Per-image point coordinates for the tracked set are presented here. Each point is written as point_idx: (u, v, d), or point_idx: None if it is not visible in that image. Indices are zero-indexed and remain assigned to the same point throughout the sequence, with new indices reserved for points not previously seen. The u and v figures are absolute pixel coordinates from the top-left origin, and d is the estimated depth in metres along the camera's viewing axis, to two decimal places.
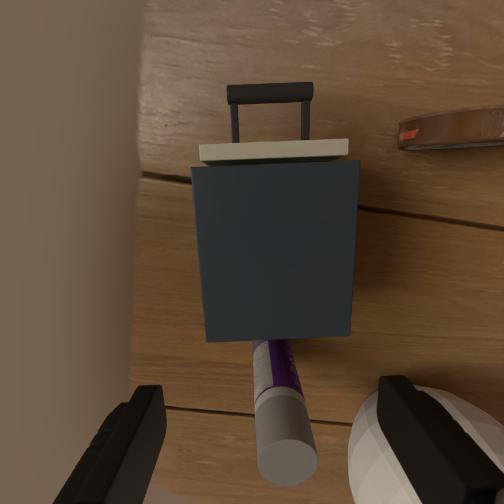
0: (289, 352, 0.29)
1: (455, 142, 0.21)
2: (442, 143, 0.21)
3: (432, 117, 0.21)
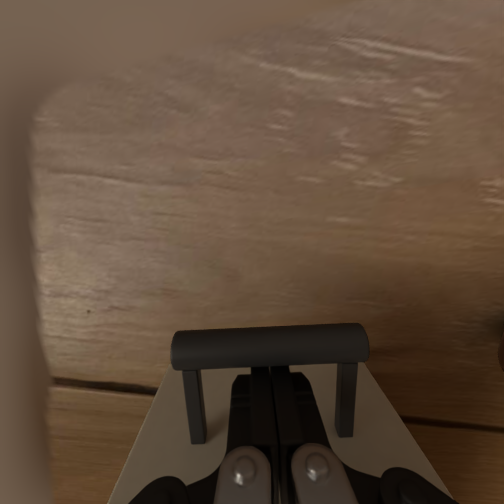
0: None
1: None
2: None
3: None
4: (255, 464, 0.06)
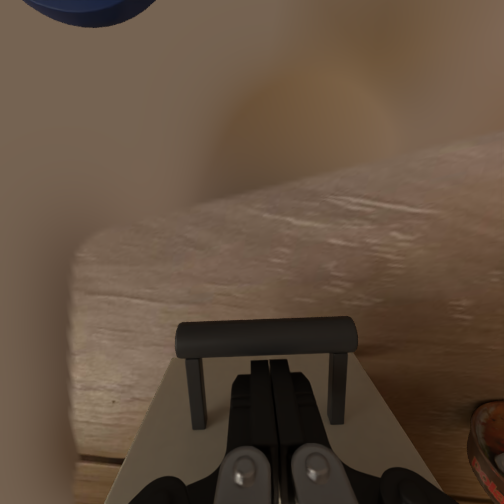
0: None
1: None
2: None
3: None
4: (255, 464, 0.06)
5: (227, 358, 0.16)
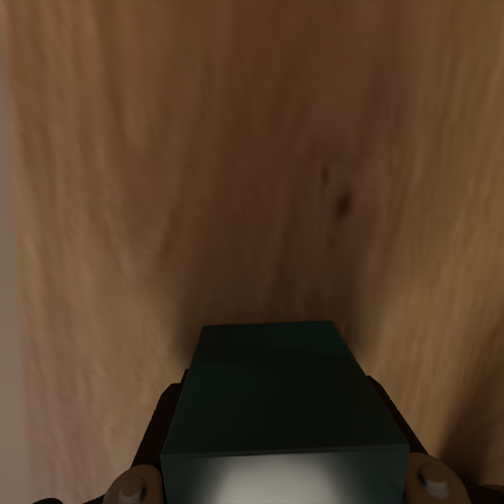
0: None
1: None
2: None
3: None
4: (146, 484, 0.06)
5: None
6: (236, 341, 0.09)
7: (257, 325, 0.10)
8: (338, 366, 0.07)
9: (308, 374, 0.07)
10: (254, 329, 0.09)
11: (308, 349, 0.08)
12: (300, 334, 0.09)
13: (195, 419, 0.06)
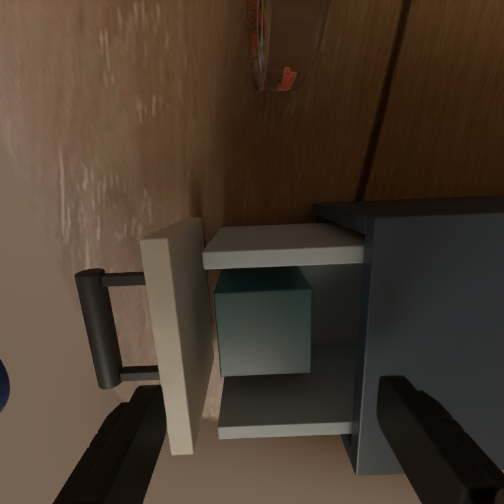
0: None
1: None
2: (326, 13, 0.10)
3: (271, 44, 0.11)
4: None
5: None
6: (242, 268, 0.17)
7: None
8: (292, 273, 0.15)
9: (277, 276, 0.15)
10: None
11: (279, 270, 0.16)
12: (276, 266, 0.17)
13: (226, 286, 0.14)
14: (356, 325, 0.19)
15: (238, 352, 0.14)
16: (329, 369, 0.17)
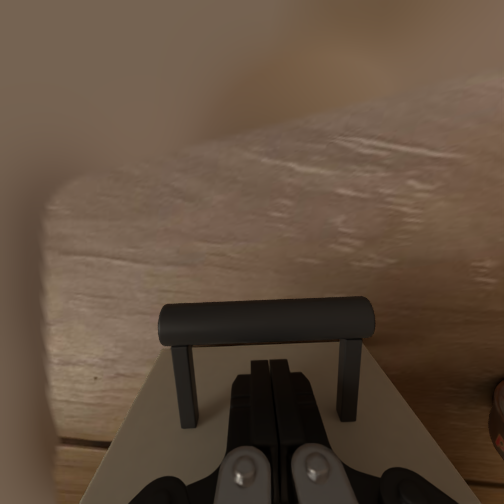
0: None
1: None
2: None
3: None
4: (255, 464, 0.06)
5: (223, 349, 0.14)
6: None
7: None
8: None
9: None
10: None
11: None
12: None
13: None
14: None
15: None
16: None
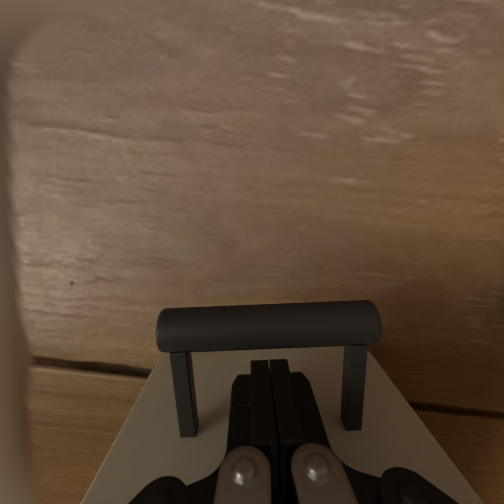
0: None
1: None
2: None
3: None
4: (255, 464, 0.06)
5: (223, 353, 0.14)
6: None
7: None
8: None
9: None
10: None
11: None
12: None
13: None
14: None
15: None
16: None
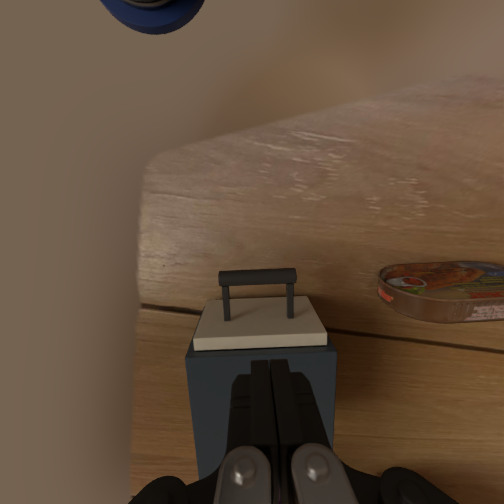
0: None
1: (425, 320, 0.23)
2: None
3: (405, 294, 0.23)
4: (255, 464, 0.06)
5: (238, 299, 0.29)
6: None
7: None
8: None
9: None
10: None
11: None
12: None
13: None
14: None
15: None
16: None
